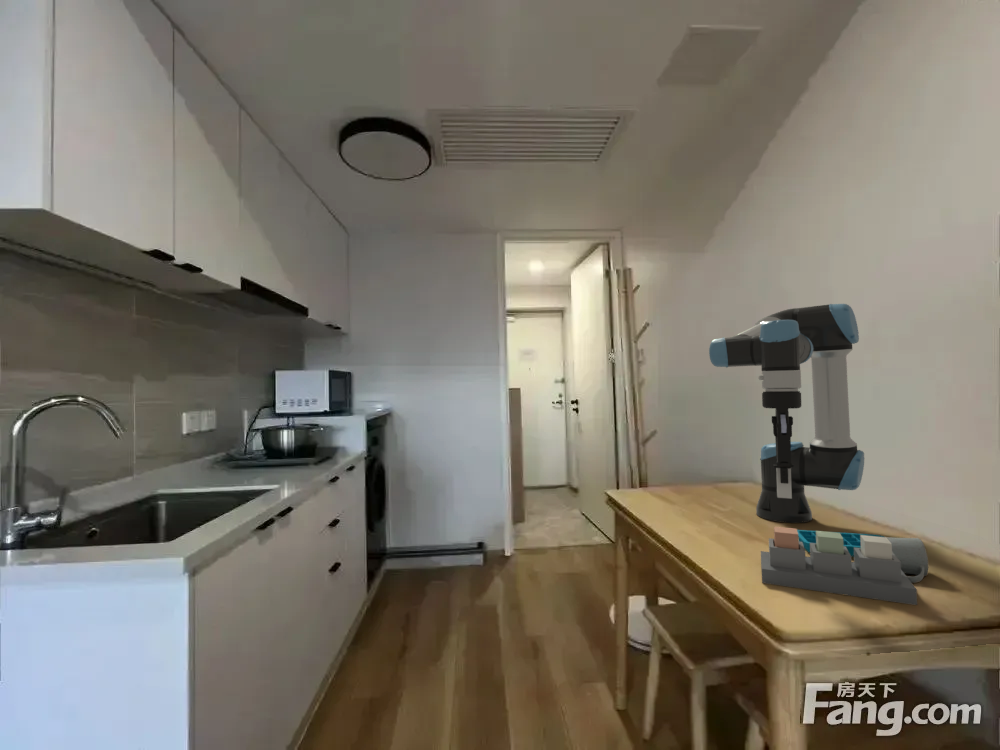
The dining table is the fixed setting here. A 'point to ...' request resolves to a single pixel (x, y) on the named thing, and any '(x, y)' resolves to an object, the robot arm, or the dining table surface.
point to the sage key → (829, 542)
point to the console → (837, 573)
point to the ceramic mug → (911, 556)
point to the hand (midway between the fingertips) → (784, 497)
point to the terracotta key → (786, 537)
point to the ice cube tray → (848, 538)
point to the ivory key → (876, 547)
